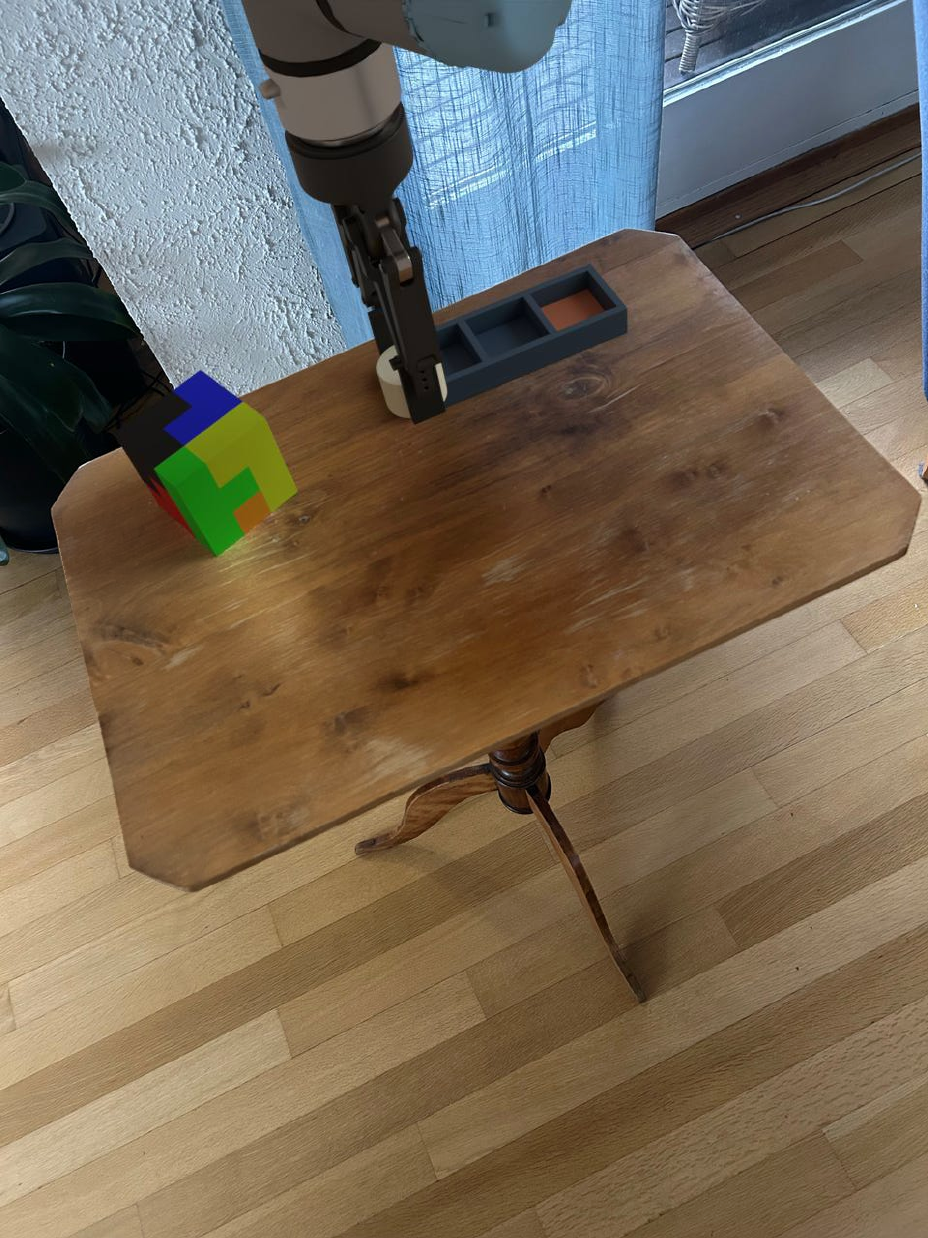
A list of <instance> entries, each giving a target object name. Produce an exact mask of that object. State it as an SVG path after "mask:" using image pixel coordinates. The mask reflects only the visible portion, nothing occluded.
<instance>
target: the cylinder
mask: <svg viewBox="0 0 928 1238" xmlns="http://www.w3.org/2000/svg"><path fill="white" fill-rule="evenodd" d="M396 355H397V352H396V349H395V346H394V345H393V346H392V347H390V348H388V349H387V350H386V351H385V352H384V353H383V354H382V355H381V356H380V355H379V357H378V359H377V361H376V362H377V363H376V366H375V370H376V374H377V377H378V378H377V379H378V381H379V384H380V388H381V391H382V394H383V398H384V400H385V401H384V402H385V404H386V406H387V408H388V410H389V411H390V412H391V413H392V414H393V415H396V416H397V417H401V418H404V419H411V417H410V413H409V410H408V406H407V403H406V399H405V395H404V392H403V388H402V384H401V381H400V377H399V373H398V370H396V371H393V369H392V367H391V365H390V363H389V359H392V358H394V356H396ZM435 366H436V371H437V375H438V379H439V384H440V388H441V392H442V397H443V401H445V398H446V395H447V387H446V383H445V378H444V374H443V369H442V365H441V363H439V364H437V365H435Z"/></svg>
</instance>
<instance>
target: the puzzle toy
mask: <svg viewBox="0 0 928 1238" xmlns="http://www.w3.org/2000/svg"><path fill="white" fill-rule="evenodd" d="M112 434H113V436H114V437H115V439H116V441H117V442H118V444H119V446H120V447H121V449H122V450H123V452H124V453H125V454H126V456H127V458H128V460H129V461H130V462H131V464H132V466H133V467H134V469H135V471H136V472H137V474H138V475H139V477H140V478H141V480H142V481H143V483H144V485H145V486H146V488H147V490H148V491H149V492H150V494H151V495H152V498H153V499H154V500H155V501H156V503H157V505H158V506H159V507H160V508H161V509H162V510H164V511H165V512H166V513H167V514H168V515H169V516H171V517H172V519H174V520H175V521H176V522H177V523H178V524H179V525H181V527H183V528H184V529H185V530H186V531H188V533H190V535H192V536H193V537H194V538H195V539H196V540H197V541H198V542H200V543H201V545H203V546H204V547H205V548H207V550H208V551H210V552H211V553H212V554H213V555H214V556H215V557H218V556H220V555H221V554H223V553H224V552H225V551H226V550H227V549H229V548H230V547H231V546H232V545H234V544H235V543H236V542H237V541H238V540H239V539H241V538H242V537H244V536H245V535H246V534H248V532H250V531H251V530H252V529H253V528H255V527H256V526H258V524H260V523H261V522H262V521H263V520H265V519H266V518H267V517H269V516H270V515H271V514H272V513H273V512H274V511H276V510H277V509H278V508H280V507H281V506H282V505H283V504H284V503H286V502H287V501H288V500H290V499H291V498H292V497H294V495H295V494H297V493H298V492H299V491H298V488H297V486H296V484H295V482H294V480H293V477H292V475H291V473H290V470H289V469H288V466H287V464H286V461H285V460H284V459H285V458H284V457H283V455H282V453H281V450H280V448H279V446H278V443H277V441H276V439H275V437H274V434H273V432H272V429H271V427H270V425H269V423H268V421H267V419H266V417H264V416H263V415H262V414H260V412H258V411H256V410H255V409H254V408H252V406H250V405H248V404H247V403H246V402H244V401H243V400H242V399H240V398H239V397H237V395H235V394H234V393H232V392H231V391H230V390H228V389H227V388H226V387H225V386H223V385H222V384H221V383H219V382H217V381H216V380H215V379H214V378H212V377H211V376H210V375H208V374H207V373H206V372H204V370H202V369H200V370H198V371H196V372H195V373H193V375H191V376H190V377H188V378H187V379H186V380H185V381H183V382H182V383H181V384H179V385H177V386H176V387H175V388H173V389H172V390H171V391H170V392H168V393H167V394H165V395H164V396H162V397H161V398H160V399H159V400H157V401H156V402H154V403H153V404H151V406H149V407H148V408H145V410H144V411H142V412H141V413H140V414H137V416H135V417H134V418H132V419H131V420H130V421H128V422H127V423H126V424H124V425H122V427H120V428H119V429H117V430H116V431H115V432H113V433H112Z"/></svg>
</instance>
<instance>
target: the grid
mask: <svg viewBox="0 0 928 1238" xmlns="http://www.w3.org/2000/svg"><path fill="white" fill-rule="evenodd" d="M628 320H629V319H628V307H627V306H626V304H625V303H624V302H623V301H622V299H621V298H620V297H619V296H618V295H617V294H616V292H615V291H614V290H613V289H612V287H611V286H610V285H609V284H608V283H607V281H606V280H605V279H604V278H603V277H602V276H601V274H600V272H598V271H597V269H596V268H595V266H593V265H592V264H591V263H588V264H585V265H582V266H580V267H577V268H575V269H572V270H571V271H568V272H565V273H562V274H561V275H558V276H556V277H553V278H551V279H549V280H545V281H543V282H541V283H539V284H536V285H533V286H531V287H529V288H526V289H523V290H521V291H519V292H516V293H514V294H512V295H508V296H506V297H504V298H502V299H501V298H500V299H499V300H496V301H494V302H491V303H489V304H487V305H484V306H482V307H479V308H477V309H474V310H472V311H470V312H467V313H464V314H461V315H459V316H457V317H455V318H451V319H450V320H447V321H445V322H442V323H439V324H437V325H435V329H436V333H437V338H438V342H439V347H440V351H441V353H442V359H443V362H442V363H441V365H442V369H443V374H444V378H445V383H446V387H447V395H446V398H445V401H444V405H445V409H446V408H448V407H451V406H453V405H456V404H459V403H460V402H463V401H465V400H467V399H471V398H473V397H475V396H478V395H480V394H482V393H485V392H487V391H489V390H492V389H495V388H497V387H499V386H502V385H504V384H506V383H508V382H511V381H514V380H516V379H519V378H521V377H523V376H526V375H528V374H530V373H533V372H535V371H538V370H540V369H542V368H545V367H547V366H550V365H553V364H554V363H557V362H559V361H562V360H564V359H566V358H569V357H571V356H574V355H576V354H578V353H582V352H584V351H586V350H589V349H591V348H594V347H595V346H598V345H601V344H603V343H605V342H608V341H610V340H612V339H615V338H617V337H620V336H622V335H624V334H627V333H628V331H629V328H628V325H629V324H628V322H629V321H628Z"/></svg>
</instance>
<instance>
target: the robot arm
mask: <svg viewBox="0 0 928 1238" xmlns="http://www.w3.org/2000/svg"><path fill="white" fill-rule="evenodd" d="M240 2H241V6H242V9H243V11H244V14H245V17H246V21H247V23H248V26H249V29H250V33H251V36H252V38H253V41H254V42H253V43H254V44H255V47H256V49H257V51H258V56H259V58H260V60H261V62H262V67H263V71H264V72H265V73H266V75H267V76H268V78H267V79H265V80H263V81H261V82H260V83H259V85H258V90H259V93H260V95H261V98H263V99H264V100H267V101H268V100H273V102H274V105H275V109H276V112H277V115H278V118H279V119H278V120H279V122H280V124H281V125H282V127H283V129H284V141H285V144H286V146H287V150H288V152H289V157H290V159H291V162H292V165H293V169H294V172H295V175H296V178H297V182H298V183H299V186H300V187H301V189H302V190H303V191H304V192H305V194H306V195H308V196H309V197H310V198H312V199H314V200H316V201H318V202H320V203H323V204H328V205H329V206H330V210H331V212H332V214H333V218H334V222H335V225H336V228H337V231H338V235H339V238H340V242H341V245H342V248H343V253H344V256H345V259H346V263H347V266H348V270H349V273H350V276H351V278H350V280H351V283H352V285H354V286H355V288H356V289H359V291H360V296H361V299H360V300H361V302H362V304H363V305H364V306H365V307H366V308H367V309H369V308H371V310H369V311H367V312H366V314H367V316H368V320H369V324H370V327H371V331H372V335H373V337H374V341H375V344H376V348H377V352H378V355H379V357H380V356H381V355H382V354H383V353H384V352H385V351H386V350H387V349H388V348H390V347H392V346H393V345H394V346H395V349H396V352H397V355H396V356H394V358H392V359H389V363H390V365H391V367H392V369H393V371H396V370H398V373H399V377H400V381H401V384H402V388H403V392H404V395H405V399H406V403H407V406H408V410H409V413H410V417H411V418H410V420H411V422H412V423H413V425H414V426H416V425H419V424H420V423H423V422H425V421H427V420H430V419H432V418H434V417H437V416H439V415H442V414H444V413H446V412H447V411H446V410H447V409H446V408H445V405H444V401H443V397H442V392H441V388H440V384H439V379H438V375H437V371H436V366H435V365H437V364H439V363H442V362H443V359H442V353H441V351H440V347H439V342H438V338H437V333H436V329H435V326H436V325H435V321H434V320H435V319H434V316H433V311H432V308H431V302H430V298H429V294H428V288H427V285H426V280H425V271H424V261H423V258H424V255H423V253H422V251H421V249H420V248H419V246H417V245H413V246H411V243H410V240H409V236H408V233H407V228H406V227H407V224H408V221H407V216H406V213H405V210H404V206H403V204H402V201H401V199H400V198H399V196H395V197H393V195H394V193H395V192H396V190H397V188H398V187H399V186H400V184H401V183H402V182H403V181H404V180H405V179H406V178H407V177H408V175H409V173H410V172H411V170H412V167H413V163H414V159H415V157H414V156H415V155H414V154H415V153H414V149H413V143H412V138H411V134H410V129H409V123H408V120H407V114H406V109H405V106H404V104H403V102H402V100H401V98H402V93H403V89H402V84H401V79H400V74H399V71H398V65H397V61H396V56H395V52H394V47H396V48H399V49H403V50H406V51H408V52H411V53H414V54H417V55H420V56H424V57H426V58H430V59H432V60H433V61H436V62H437V63H439V64H441V63H442V64H443V65H445V66H448V67H450V68H453V67H456V68H459V69H465V68H473V69H479V70H482V71H483V70H484V71H488V72H494V73H499V74H504V75H505V74H506V75H507V74H515V73H520V72H523V71H525V70H527V69H530V68H531V67H533V66H534V65H536V64H538V62H540V61H541V60H542V59H543V58H544V57H545V56H546V55H547V54H548V52H549V51H550V50H551V49H552V47H553V45H554V41H555V36H556V30H557V29H558V28H559V27H561V26H564V25H565V23H566V20H567V19H568V16H569V14H570V11H571V7H572V5H573V0H240Z"/></svg>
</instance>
